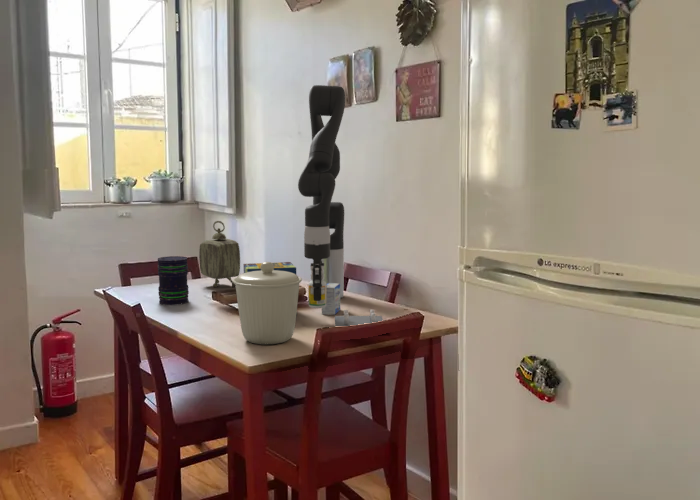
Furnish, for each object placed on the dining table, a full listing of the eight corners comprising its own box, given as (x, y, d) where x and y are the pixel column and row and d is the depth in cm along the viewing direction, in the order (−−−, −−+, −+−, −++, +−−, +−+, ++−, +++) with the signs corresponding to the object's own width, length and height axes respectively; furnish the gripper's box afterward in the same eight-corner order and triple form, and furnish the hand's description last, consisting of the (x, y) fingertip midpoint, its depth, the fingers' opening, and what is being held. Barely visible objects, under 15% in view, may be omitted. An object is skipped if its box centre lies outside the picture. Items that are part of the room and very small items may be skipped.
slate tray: (334, 320, 201) (334, 306, 201) (381, 320, 202) (381, 305, 201) (335, 334, 186) (335, 318, 185) (386, 334, 186) (386, 318, 186)
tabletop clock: (240, 287, 255) (239, 221, 251) (221, 290, 248) (219, 223, 245) (218, 282, 265) (216, 219, 261) (198, 285, 258) (196, 220, 255)
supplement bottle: (322, 309, 196) (321, 276, 194) (305, 307, 198) (305, 275, 196) (329, 305, 201) (329, 273, 199) (313, 303, 203) (312, 272, 201)
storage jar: (187, 298, 234) (186, 255, 232) (190, 303, 225) (189, 259, 223) (158, 300, 231) (156, 256, 229) (159, 305, 222) (157, 261, 220)
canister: (302, 348, 172) (302, 266, 169) (230, 350, 170) (229, 267, 168) (302, 330, 190) (301, 256, 187) (237, 332, 188) (235, 257, 185)
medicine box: (335, 315, 209) (335, 287, 208) (321, 314, 210) (321, 287, 209) (340, 309, 217) (340, 283, 216) (327, 309, 218) (327, 282, 216)
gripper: (305, 238, 203) (305, 293, 206) (303, 244, 189) (303, 303, 191) (330, 238, 203) (330, 293, 206) (330, 244, 189) (330, 303, 192)
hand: (317, 298), depth 199 cm, fingers closed on supplement bottle, 5 cm apart
